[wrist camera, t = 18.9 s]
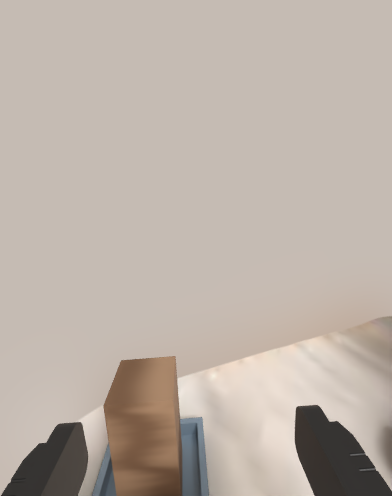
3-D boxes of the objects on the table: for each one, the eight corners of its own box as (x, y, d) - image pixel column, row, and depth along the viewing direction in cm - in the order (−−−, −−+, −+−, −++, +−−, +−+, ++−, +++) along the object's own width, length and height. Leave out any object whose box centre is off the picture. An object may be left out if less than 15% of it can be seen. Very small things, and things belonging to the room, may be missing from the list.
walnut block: (182, 452, 24) (175, 356, 22) (182, 515, 19) (173, 399, 17) (133, 456, 24) (121, 360, 22) (120, 521, 19) (103, 405, 17)
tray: (202, 432, 27) (202, 417, 26) (213, 558, 17) (212, 538, 17) (116, 439, 26) (114, 424, 26) (78, 573, 17) (74, 552, 17)
